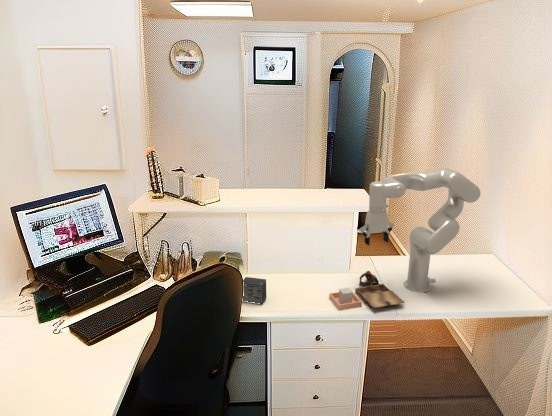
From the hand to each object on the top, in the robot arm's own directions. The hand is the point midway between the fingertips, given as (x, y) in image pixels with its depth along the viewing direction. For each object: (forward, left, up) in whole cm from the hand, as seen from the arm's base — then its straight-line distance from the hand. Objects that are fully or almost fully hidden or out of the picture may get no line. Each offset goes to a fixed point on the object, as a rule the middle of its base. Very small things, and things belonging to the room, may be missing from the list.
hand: (376, 242), depth 200 cm
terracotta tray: (+17, +5, -27) cm, 32 cm away
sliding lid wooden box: (+1, +8, -27) cm, 28 cm away
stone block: (+17, +5, -26) cm, 32 cm away
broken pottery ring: (-2, -7, -27) cm, 28 cm away
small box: (+57, -10, -27) cm, 64 cm away
